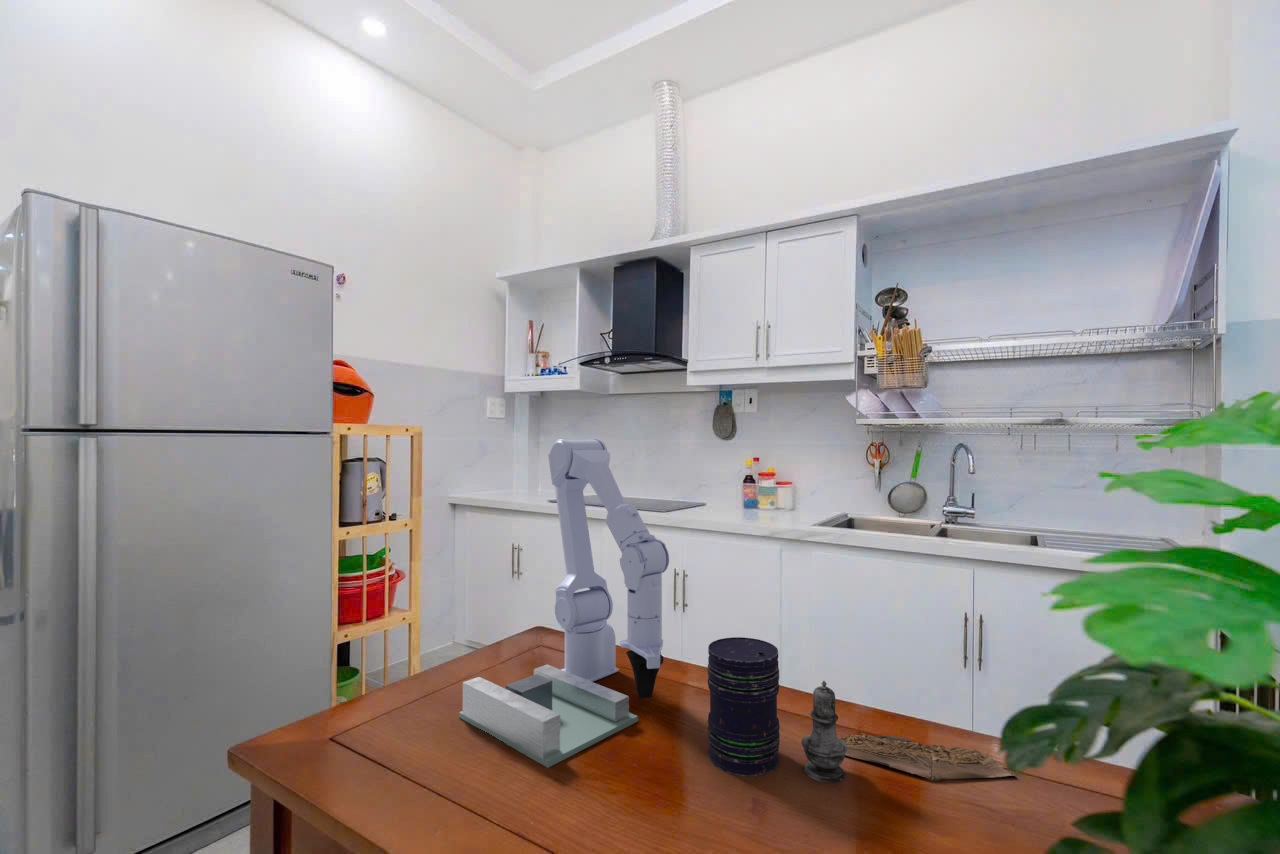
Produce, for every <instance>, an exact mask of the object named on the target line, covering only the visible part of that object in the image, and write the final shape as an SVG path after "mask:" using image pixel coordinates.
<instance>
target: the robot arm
mask: <svg viewBox="0 0 1280 854" xmlns="http://www.w3.org/2000/svg"><path fill="white" fill-rule="evenodd" d="M610 459H611V454H610V452H609V451H608V450H607V446H606V444H605V442H604V441H603V440H602V439H599V438H596V439H563V438H558V439H557V440H555V441H554V443H553V444H552V446H551V448H550V451H549V453H548V462H549V463H548V464H549V470H550V479H551V484H552V485H553V486H554V490H555V491H554V492H555V497H556V498H555V499H556V504H557V513H558V521H559V527H560V528H559V529H560V534H561V535H560V536H561V543H562V550H563V557H564V558H563V559H564V564H565V565H564V566H565V572H566V576H565V578H564V579H563V580H562V581H561V582H560V583H559V584H558V585H557V586H556V588H555V605H554V615H555V618H556V621H557V623H558V625H560V628H561V629H563V630H564V668H560V670H563V671H565V672H568V673H571V674H573V675H576V676H578V677H581V678H583V679H586V680H588V681H591V682H595V681H599V680H601V679H603V678H606V677H608V676H610V675H612V674H615V673H618V672H619V671H620V670H619V668H618V667H616V661H617V660H616V658H617V656H616V654H617V653H616V652H617V651H616V649H617V648H616V647H617V645H616V642H617V641H616V634H615V630H614V628H613V627H612V625H611V624H610V623H609V622H608V621H607V620H609V619H610V618H611V616H612V614H613V609H614V608H613V606H614V603H613V599H612V596H611V594H610V592H609V589H608V584H607V581H606V579H605V578H603V577H602V576H600V575H599V574H598V573H596V572H595V567H594V566H595V565H594V559H593V551H592V545H591V539H590V538H591V536H590V531H589V524H588V515H587V509H586V505H585V503H586V502H585V496H584V490H585V488H586V487H587V485H588V484H589V485H590V486H591V488H592V489H593V491H594V492H595V494H596V496H597V497H598V498H599V500H600V502H601V504H602V505H603V506H604V508H605V510H606V511H607V514H606V518H605V524H606V525H607V527H608V529H609V531H610V533H611V535H612V537H613V539H614V540H615V542H616V544H617V546H618V548H619V550H620V552H621V557H620V558H619V564H620V565H619V566H620V569H621V572H622V574H623V577H624V579H623V580H624V581H623V583H624V584H625V588H627V639H621V640H620V643H619V644H620V647H621V648H622V649H629V650H627V651H626V652H625V653H626V656H627V657H628V660H629V662H630V665H631V669H632V671H633V672H632V673H633V677H634V683H635V689H636V694H637V696H638V698H639V699H640V700H641V699H652V696H653V693H654V689H655V685H656V679H657V676H658V672H659V670H660V668H661V666H662V665H663V663H664V656H663V654H662V650H663V646H664V640H663V638H662V637H663V629H662V628H663V625H662V623H663V604H662V603H663V600H662V599H663V592H662V591H663V590H662V589H663V586H662V585H663V584H662V583H663V581H662V580H663V578H662V576H663V573H664V572H666V571H667V570H668V569H669V568H668V567H669V564H670V555H669V554H670V553H669V551H668V549H667V547H666V544H665V542H664V541H662V540H661V539H659V538H657V537H656V536H655V534H651V533H650V531H649V530H648V528H647V526H646V524H645V523H644V521H643V518H642V517H641V515H640V512H639V510H638V509H637V508H636V506H635V505H633V504H631V503H627V502H626V501H625V500H624V497H623V495H622V493H621V489H620V488H619V487H618V486H619V485H618V484H617V482H616V479H615V478H614V474H613V472H612V470H611V468H610ZM583 589H587V590H583ZM579 590H581V591H579ZM576 591H577V592H576Z"/></svg>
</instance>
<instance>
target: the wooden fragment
mask: <svg viewBox="0 0 1280 854" xmlns="http://www.w3.org/2000/svg"><path fill="white" fill-rule="evenodd" d="M838 738H839V739H841V740H842V741H843V742H844V743H845V744H846V745H847V748H848V750H847V752H846V753H845V757H846V756H847V757H850V758H853V759H854V758H855V759H858V760H862V761H867V762H873V763H877V764H880V765H883V766H887V767H889V768H892V769H896V770H900V771H903V772H907V773H910V774H912V775H917V776H920V777H924V778H926V779H928V780H930V781H932V782H936V781H940V780H951V779H981V778H1002V777H1009V776H1012V777H1014V778H1016V779H1017V776H1016V775H1015V774H1014V775H1011V774H1009V773H1007V772H1006V771H1005V770H1004V769H1003V766H1004V765H1003V764H1001V763H999V762H998V761H997V760H995V759H993V757H991V756H990V755H989V754H988V753H986V752H981V751H979V750H977V749H967V748H962V747H951V748H949V747H946V746H943V745H937V744H936V745H935V744H932V745H931V746H930V745H929V744H926V745H925V744H923V743H920V742H917V741H916V742H915V741H912V740H911V739H909V738H906V737H904V736H898V735H881V734H880V735H870V734H865V733H863V732H861V733H860V734H848V735H846V736H844V737H838Z"/></svg>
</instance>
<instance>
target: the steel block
mask: <svg viewBox="0 0 1280 854" xmlns="http://www.w3.org/2000/svg"><path fill="white" fill-rule="evenodd" d="M505 689H507V690H509V691H511V692H513V693H515V694H517V695H520V696H522V697H524V698H526V699H528V700H530V701H532V702H535V703H537V704H539V705H541V706H543V707H545V708H547V709H550V710H552V680H550V679H547V678H545V677H542V676H540V675H538V674H535V675H534V674H533V675H530V676H527V677H525V678H523V679H522V678H521V679H519V680H516V681H514V682H511V683H508V684H505Z"/></svg>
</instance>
